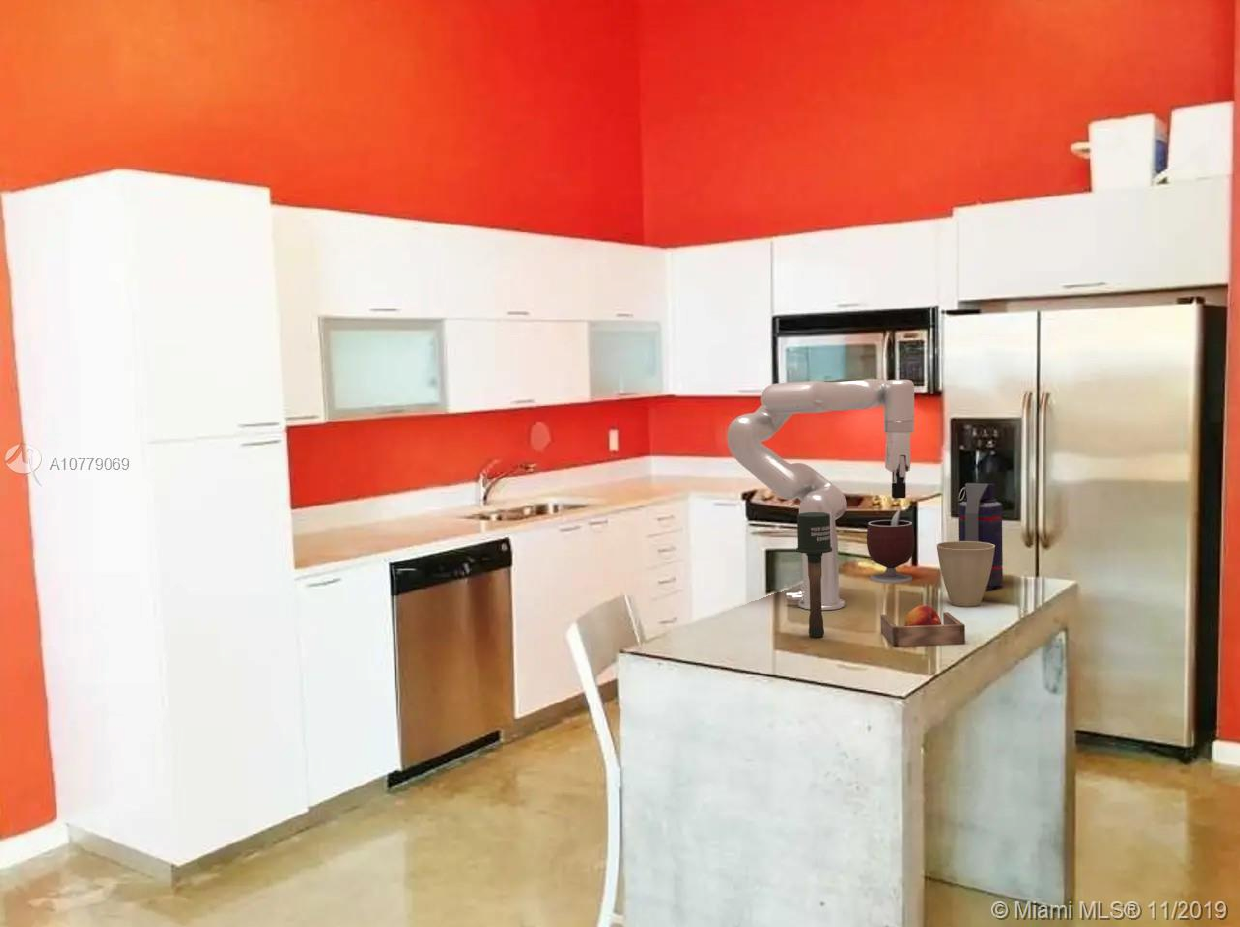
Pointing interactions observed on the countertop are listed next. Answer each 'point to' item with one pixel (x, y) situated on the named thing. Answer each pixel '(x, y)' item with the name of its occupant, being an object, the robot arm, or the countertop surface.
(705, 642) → the countertop surface
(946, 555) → the plant pot
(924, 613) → the fruit
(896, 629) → the box
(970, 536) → the smoke canister
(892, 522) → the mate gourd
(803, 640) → the countertop surface
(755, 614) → the countertop surface
